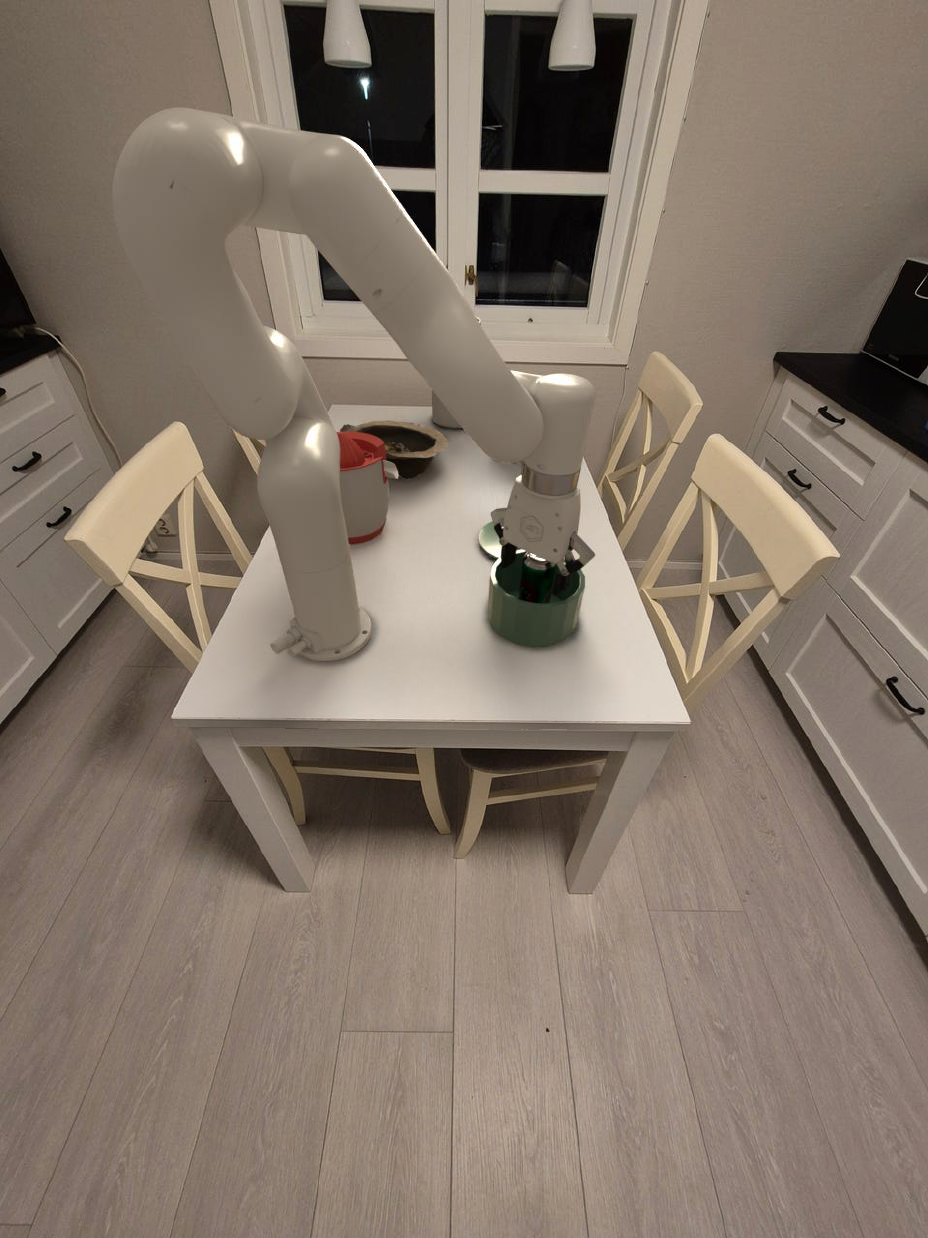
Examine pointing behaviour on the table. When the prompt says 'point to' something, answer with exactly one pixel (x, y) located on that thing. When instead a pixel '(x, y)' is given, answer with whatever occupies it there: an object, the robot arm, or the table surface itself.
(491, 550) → the bowl lid
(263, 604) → the table surface
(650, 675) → the table surface
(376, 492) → the citrus juicer
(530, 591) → the soda can
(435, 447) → the stone bowl
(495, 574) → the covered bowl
